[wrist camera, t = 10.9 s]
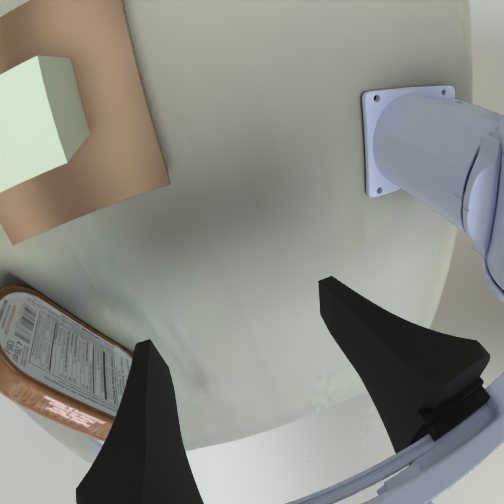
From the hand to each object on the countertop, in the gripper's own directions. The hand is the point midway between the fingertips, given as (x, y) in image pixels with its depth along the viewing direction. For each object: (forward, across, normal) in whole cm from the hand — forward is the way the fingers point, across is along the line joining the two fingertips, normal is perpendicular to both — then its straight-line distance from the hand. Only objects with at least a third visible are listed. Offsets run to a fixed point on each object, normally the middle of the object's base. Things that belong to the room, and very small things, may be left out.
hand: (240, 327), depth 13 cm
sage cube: (+7, +6, -10) cm, 14 cm away
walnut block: (+10, +6, -10) cm, 15 cm away
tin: (+10, +12, +5) cm, 16 cm away
